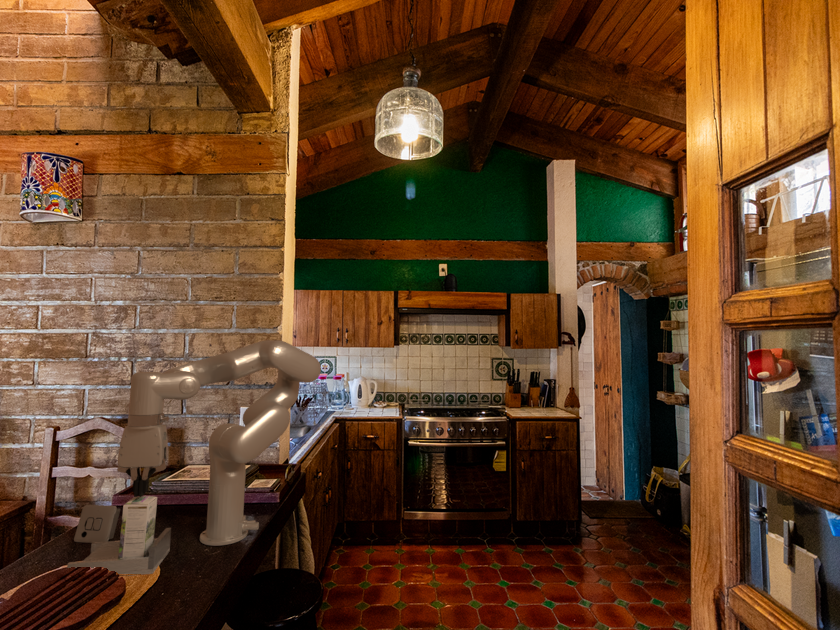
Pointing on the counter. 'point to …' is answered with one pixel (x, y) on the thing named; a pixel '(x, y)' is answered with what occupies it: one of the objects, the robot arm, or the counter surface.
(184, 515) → the counter surface
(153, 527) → the syrup box
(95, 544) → the grey u-shaped piece
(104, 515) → the electrical switch
